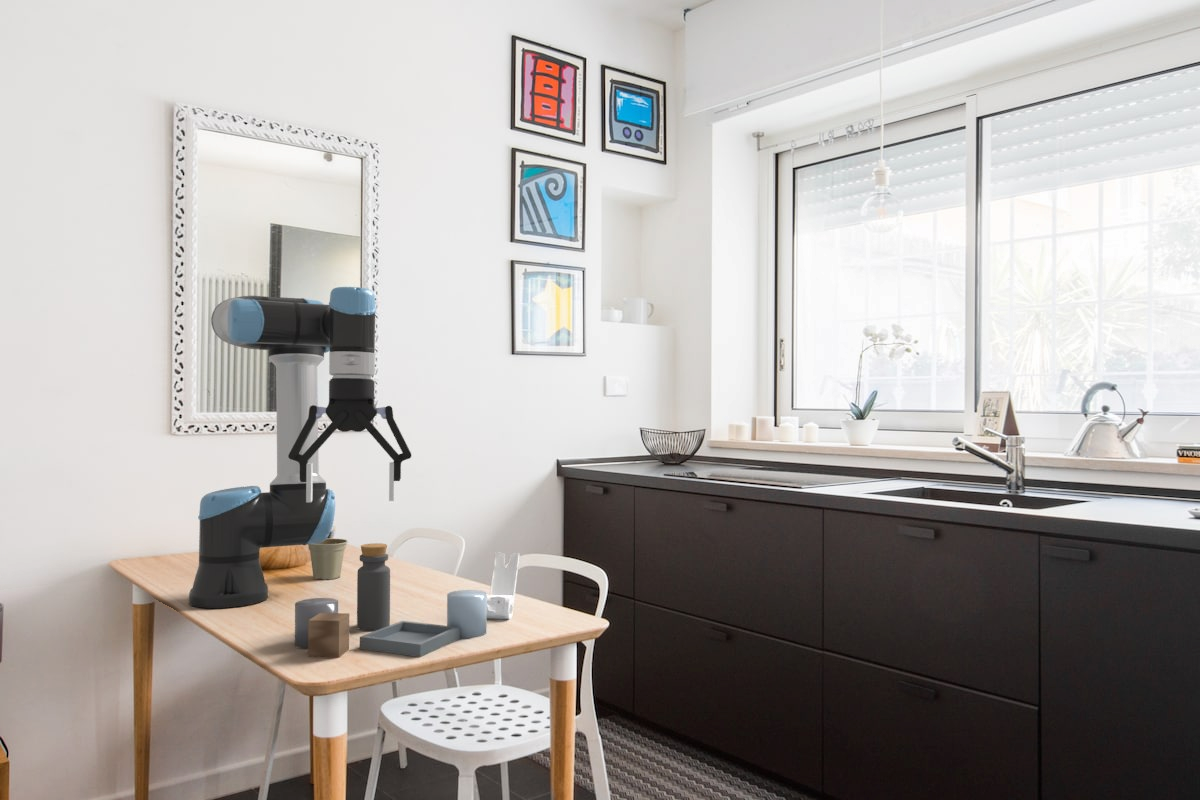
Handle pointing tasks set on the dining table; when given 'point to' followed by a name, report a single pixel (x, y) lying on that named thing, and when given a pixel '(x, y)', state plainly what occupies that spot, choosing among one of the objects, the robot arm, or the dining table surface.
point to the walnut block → (328, 635)
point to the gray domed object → (310, 616)
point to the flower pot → (327, 558)
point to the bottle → (373, 588)
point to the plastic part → (502, 587)
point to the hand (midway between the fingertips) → (350, 501)
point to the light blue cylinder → (467, 612)
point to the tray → (410, 638)
